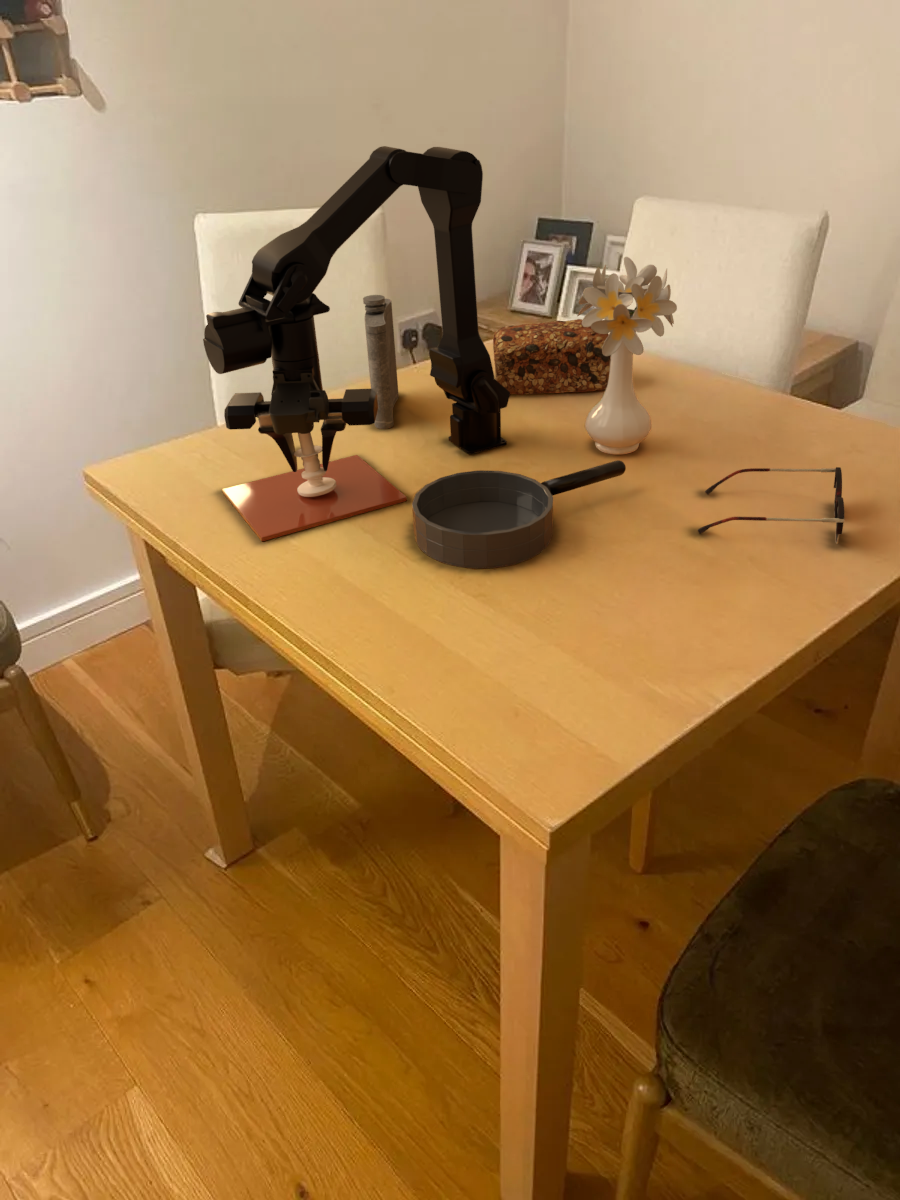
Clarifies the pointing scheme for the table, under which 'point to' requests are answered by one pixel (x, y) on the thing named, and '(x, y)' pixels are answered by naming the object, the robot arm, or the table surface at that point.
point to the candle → (312, 469)
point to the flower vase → (623, 350)
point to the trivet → (311, 498)
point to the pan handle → (585, 477)
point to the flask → (381, 357)
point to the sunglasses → (837, 513)
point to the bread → (550, 358)
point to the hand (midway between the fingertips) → (310, 470)
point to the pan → (483, 519)
